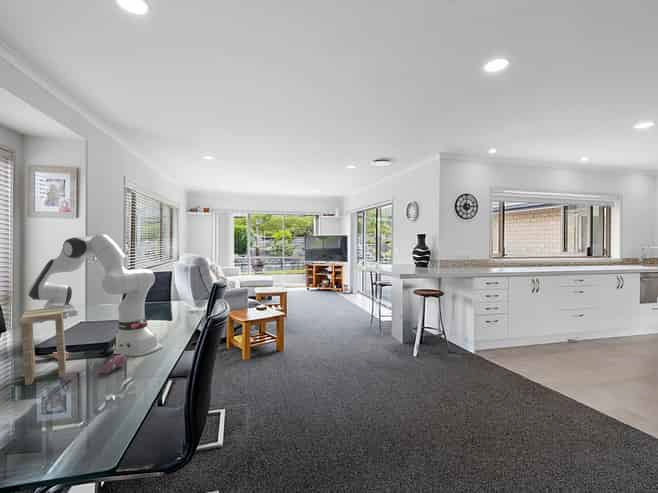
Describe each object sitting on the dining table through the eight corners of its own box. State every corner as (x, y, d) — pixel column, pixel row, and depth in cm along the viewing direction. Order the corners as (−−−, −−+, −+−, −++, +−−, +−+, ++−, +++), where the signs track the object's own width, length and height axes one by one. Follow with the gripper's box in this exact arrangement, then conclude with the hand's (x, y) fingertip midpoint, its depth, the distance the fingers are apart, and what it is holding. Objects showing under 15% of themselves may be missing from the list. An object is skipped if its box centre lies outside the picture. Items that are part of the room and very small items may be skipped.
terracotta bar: (38, 353, 162) (37, 347, 161) (45, 351, 164) (45, 345, 164) (61, 360, 151) (61, 354, 151) (69, 358, 154) (68, 352, 154)
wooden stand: (29, 372, 139) (25, 310, 137) (66, 364, 146) (62, 306, 145) (24, 386, 126) (20, 318, 125) (65, 377, 133) (61, 313, 132)
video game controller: (107, 378, 135) (113, 363, 135) (98, 372, 136) (103, 358, 135) (125, 367, 145) (131, 354, 144) (117, 362, 146) (122, 349, 145)
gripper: (27, 310, 173) (25, 318, 162) (76, 302, 185) (77, 309, 175) (28, 321, 174) (26, 330, 163) (77, 313, 186) (78, 320, 175)
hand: (53, 319), depth 169 cm, fingers open, 8 cm apart
